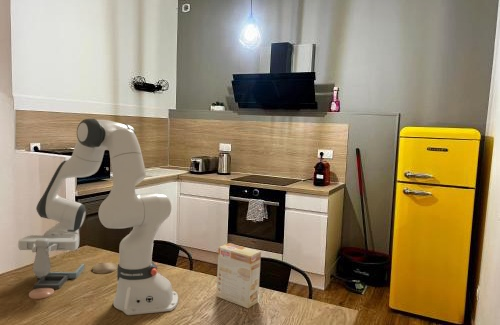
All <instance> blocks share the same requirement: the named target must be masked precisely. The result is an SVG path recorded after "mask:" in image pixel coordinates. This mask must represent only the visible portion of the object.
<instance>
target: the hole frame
mask: <svg viewBox="0 0 500 325" xmlns="http://www.w3.org/2000/svg"><path fill="white" fill-rule="evenodd" d="M68 280H69V278H68V275H46V276H43V277H42V278H39V279H38V280H37V281H36V282H35V283H34V284H33V290H35V289H38V288H52V289H54V290H59V289H60V288H62V286H63V285H64V284H65V283H66V282H67V281H68Z"/></svg>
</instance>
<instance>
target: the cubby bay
mask: <svg viewBox="0 0 500 325" xmlns="http://www.w3.org/2000/svg"><path fill="white" fill-rule="evenodd" d="M84 270H85V263H81V264H80V266H78V268H77V269H76V270H75V271H49V273H48V274H47V275H68V279H77V278H78V277H79V276H80V275H81V274H82V273H83V271H84ZM42 277H43V276H41V277H40V276H36V279H41V278H42Z"/></svg>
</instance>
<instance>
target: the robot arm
mask: <svg viewBox="0 0 500 325" xmlns="http://www.w3.org/2000/svg"><path fill="white" fill-rule="evenodd" d="M76 138H77V141H76V142H75V146H74V148H73V151H72V154H71V156H70V158H68V159H67V160H63V161H62V162H60V164H59V165H58V166H57V168H56V170H55V172H54V174H53V175H52V177H51V179H50V181H49V182H48V185H47V187H46V189H45V191H44V193H43V195H42V196H41V198H40V199H39V200H38V202H37V205H36V213H37V214H38V215H39V217H40V218H44V219H48V220H52V221H56V222H58V223H56V224H55V225H54V226H52V227H51V228H49V229H48V230H46V231H45V232H44V233H43V235H40V234H39V235H38V234H37V235H36V234H35V235H33V234H32V235H31V234H30V235H27V236H25V237H23V238H21V239H19V240H18V244H17V246H18V250H20V251H31V252H32V253H36V251H37V247H36V246H35V241H36V240H38V239H41V238H46V239H48V240H49V244H48V246H47V247H46V248H45V252H48V253H51V252H54V251H63V252H64V251H67V252H68V251H69V252H71V251H72V252H73V251H76V250H77V249H79V245H80V229H81V228H82V226H83V225H84V222H85V220H86V218H87V209H86V206H85V205H84V204H83V203H80V202H78V201H75V200H70V199H67V198H64V197H62V196H60V195H59V194H58V193H59V192H60V189H61V188H62V186H63V184H64V182H65V180H66V179H69V178H70V179H71V178H87V177H90V176H92V175H95V174H96V173H97V172H98V171H99V169H100V167H101V165H102V162H103V158H104V155H105V151H106V150H107V151H109V159H110V166H111V172H112V187H111V190H110V192H109V194H108V196H107V197H106V198H105V199H104V200H103V201H102V202H101V204H100V206H99V207H98V211H97V212H98V214H97V215H98V218H99V221H100V223H101V225H103V227H104V228H107V229H112V230H113V229H114V230H115V229H116V230H117V229H119V230H120V229H127V228H132V230H131V231H130V232H129V234H127V235H125V237H123V238H122V239H121V241H120V243H119V249H118V250H119V251H118V252H119V254H118V264H117V270H116V278H117V285H116V291H115V292H116V293H115V296H114V300H113V303H112V304H113V306H114V308H116V309H117V310H119V311H122V312H123V314H125V315H127V316H133V315H135V316H136V315H144V314H152V313H153V314H154V313H162V312H163V313H164V312H171V311H173V310H174V309H176V307H177V306H178V304H179V295H178V293H177V292H176V291H175V290H173V287H172V283H171V281H170V280H169V279H168V278H166V277H165V276H163V275H162V274H160V273H159V272H158V263H157V262H155V263H154V262H153V259H152V258H153V247H154V246H153V245H154V241H155V238H156V236H157V232H158V231H159V229H160V227H161V226H162V224H164V222H165V221H166V220H167V219H169V217H170V215H171V213H172V203H171V200H170V198H169V197H168V196H167V195H166V194H164V193H157V192H148V193H147V192H146V193H140V194H139V193H138V194H137V193H136V186H137V185H139V184H140V183H142V182H143V181H144V179H145V178H146V174H147V173H146V172H147V171H146V166H145V162H144V158H143V153H142V149H141V145H140V142H139V140H138V137H137V135H136V130H135V128H134V127H133V126H131V125H130V124H127V123H124V122H123V123H120V122H118V121H113V120H110V119H109V120H108V119H95V118H84V119H82V120H81V121H80V122H79V124H78V125H77V128H76Z"/></svg>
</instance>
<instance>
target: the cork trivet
mask: <svg viewBox="0 0 500 325" xmlns="http://www.w3.org/2000/svg"><path fill="white" fill-rule="evenodd" d="M117 267H118V264H116V263H114V262H100V263H96V264H95V265H93V266H92V272H93V273H94V274H103V275H104V274H105V275H106V274H110V273H115V271H116V272H117Z"/></svg>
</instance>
